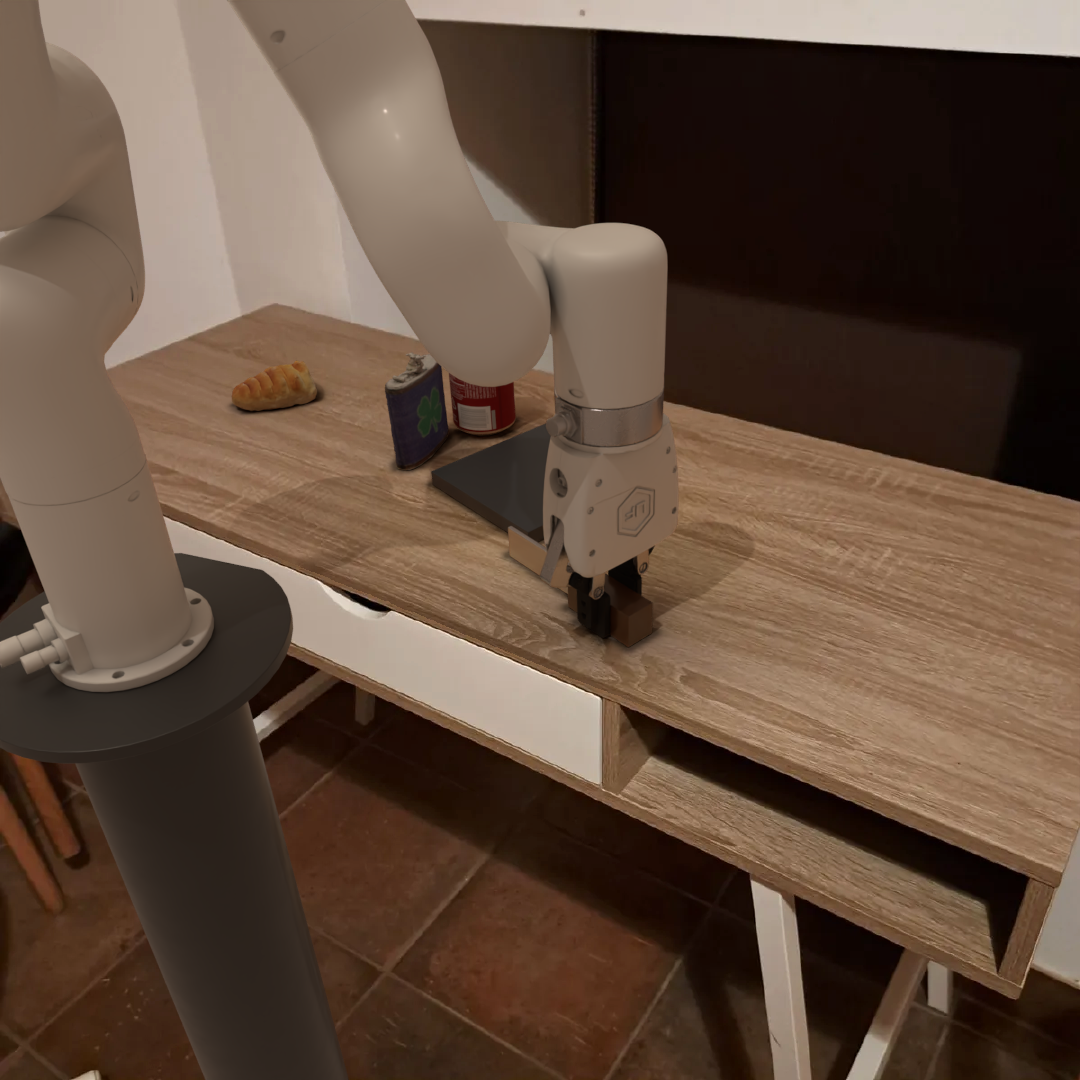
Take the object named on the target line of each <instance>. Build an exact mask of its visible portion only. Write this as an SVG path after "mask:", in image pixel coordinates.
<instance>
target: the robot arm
mask: <svg viewBox="0 0 1080 1080" xmlns="http://www.w3.org/2000/svg"><path fill="white" fill-rule="evenodd" d="M226 1H227V2H228V4H229V5H230V7H231V8H232V10H233V11H234V14H235V15H236V16H237V18H238V19H239V21H240V22H241V24H242V26H243V27H244V29H245V30H246V32H247V33H248V35H249V37H250V38H251V39H252V41H253V43H254V45H255V46H256V48H257V50H258V51H259V52H260V54H261V56H262V57H263V59H264V60H265V61H266V63H267V65H268V67H269V68H270V70H271V72H273V74H274V76H275V78H276V79H277V81H278V82H279V84H280V86H281V88H283V90H284V92H285V93H286V96H287V97H288V98H289V100H290V102H291V103H292V104H293V106H294V107H295V109H296V111H297V112H298V114H299V116H300V117H301V119H302V121H303V122H304V124H305V126H306V127H307V130H308V132H309V135H310V136H311V139H312V142H313V144H314V147H315V149H316V150H315V151H316V152H317V155H318V157H319V160H320V163H321V165H322V167H323V169H324V171H325V173H326V175H327V177H328V179H329V182H330V183H331V185H332V188H333V189H334V191H335V193H336V196H337V198H338V200H339V202H340V204H341V207H342V208H343V211H344V213H345V215H346V217H347V220H348V223H349V224H350V226H351V229H352V230H353V233H354V235H355V237H356V239H357V241H358V244H359V245H360V247H361V249H362V251H363V252H364V255H365V256H366V259H367V260H368V262H369V264H370V266H371V267H372V269H373V271H374V272H375V275H376V276H377V278H378V279H379V281H380V282H381V284H382V285H383V287H384V288H385V290H386V293H387V294H388V295H389V297H390V298H391V300H392V302H393V303H394V304H395V306H396V307H397V309H398V310H399V312H400V313H401V315H402V317H403V318H404V319H405V321H406V323H407V324H408V325H409V327H410V328H411V330H412V331H413V333H414V334H415V336H416V338H417V339H418V340H419V342H420V343H421V345H422V346H423V347H424V349H425V350H426V352H427V353H428V354H430V355H431V356H432V357H433V358H434V360H435V361H436V362H437V363H438V364H439V365H441V367H442V369H444V370H445V371H446V372H447V373H448V374H449V373H450V374H452V375H453V376H455V377H456V378H458V379H460V380H462V381H464V382H467V383H469V384H473V385H478V386H482V387H496V386H502V385H507V384H509V383H512V382H514V383H515V382H516V381H518V380H520V379H522V378H523V377H525V376H526V375H527V374H528V373H529V372H531V371H532V369H534V367H536V366H537V364H538V363H539V362H540V360H541V358H542V357H543V356H544V352H545V350H546V348H547V346H548V343H549V339H550V336H551V341H552V363H553V364H552V365H553V367H552V369H553V395H554V397H553V398H554V399H553V400H554V415H553V416H551V417H549V418H547V419H546V421H545V423H546V428H547V431H548V433H549V434H550V435H551V438H550V443H549V449H548V455H547V462H546V470H545V479H544V494H543V531H544V539H543V540H544V547H546V551H547V555H546V558H545V561H544V564H543V567H542V570H541V573H540V576H539V580H540V581H541V582H543V583H544V584H546V585H548V586H549V587H551V588H556V589H557V588H558V589H559V587H573V588H575V589H577V612H576V616H577V621H578V622H579V623H580V625H582V626H583V627H585V628H587V629H588V630H589V631H591V632H593V633H594V634H596V635H597V636H599V637H600V638H602V639H604V638H607V637H608V636H610V635H609V634H610V595H609V594H608V593H606V592H605V591H604V590H605V573H607V575H609V576H610V577H612V578H614V579H615V580H617V581H619V582H620V583H622V584H623V585H625V586H627V587H628V588H630V589H631V590H633V591H635V592H637V593H638V594H640V595H641V596H643V594H642V593H643V592H642V591H643V577H642V576H643V575H644V574H646V573H647V572H648V571H649V567H650V555H651V553H652V552H653V550H654V548H655V547H656V546H657V545H659V544H661V543H662V542H663V541H666V540H667V539H668V538H670V537H671V535H673V533H674V532H676V529H677V527H678V521H679V507H680V506H679V505H680V503H679V501H680V500H679V499H680V498H679V497H680V493H679V491H680V490H679V489H680V488H679V469H678V466H679V465H678V456H677V449H676V442H675V435H674V431H673V427H672V424H671V419H670V417H669V416H668V415H667V414H666V413H664V400H665V399H664V397H665V370H666V369H665V368H666V367H665V366H666V365H665V363H666V333H667V332H666V331H667V303H668V301H667V299H668V298H667V297H668V252H667V248H666V245H665V243H664V241H663V239H662V238H661V237H660V236H659V235H658V234H657V233H655V232H654V231H653V230H651V229H649V228H646V227H644V226H640V225H636V224H630V223H623V222H599V223H591V224H586V225H585V224H584V225H581V226H578V227H573V228H572V227H558V226H551V225H550V226H548V225H540V224H534V223H533V224H531V223H524V222H516V221H509V220H508V221H507V220H495V219H494V217H493V215H492V213H491V211H490V209H489V207H488V205H487V203H486V201H485V199H484V197H483V195H482V194H481V191H480V189H479V187H478V185H477V183H476V180H475V178H474V176H473V174H472V171H471V170H470V167H469V165H468V162H467V160H466V158H465V156H464V152H463V150H462V147H461V145H460V142H459V140H458V137H457V133H456V130H455V127H454V124H453V120H452V117H451V112H450V109H449V108H450V107H449V103H448V100H447V94H446V90H445V86H444V81H443V77H442V74H441V70H440V68H439V65H438V62H437V59H436V57H435V54H434V51H433V49H432V46H431V44H430V42H429V39H428V37H427V35H426V34H425V32H424V30H423V28H422V27H421V25H420V24H419V21H418V20H417V18H416V17H415V14H414V13H413V11H412V9H411V8H410V6H409V4H408V3H407V1H406V0H226ZM44 33H45V32H44V29H43V24H42V17H41V9H40V3H39V0H0V233H3V232H4V236H3V237H0V482H1V483H2V486H3V489H4V491H5V494H6V495H7V497H8V500H9V502H10V505H11V507H12V510H13V513H14V516H15V518H16V520H17V522H18V523H17V524H18V526H19V528H20V530H21V534H22V536H23V539H24V541H25V544H26V546H27V549H28V552H29V554H30V557H31V559H32V563H33V565H34V567H35V570H36V572H37V575H38V578H39V580H40V582H41V585H42V587H43V590H44V591H45V593H46V596H47V598H48V601H49V604H46V605H44V606H42V607H41V608H42V611H43V613H44V616H45V619H44V620H42V621H40V622H37V623H35V624H33V626H34V629H32V630H30V631H28V632H25V633H23V634H20V635H18V636H16V635H15V636H13V637H11V638H8V639H6V640H3V641H1V642H0V665H1V667H2V668H5V667H7V666H10V665H12V664H14V663H17V662H19V661H21V663H22V665H23V667H24V669H25V671H26V673H27V674H30V673H32V672H35V671H37V670H39V669H42V668H44V667H45V666H46V665H49V666H50V669H51V671H52V673H53V674H54V675H55V677H56V678H57V679H58V680H59V681H61V682H62V683H64V684H65V685H67V686H70V687H73V688H75V689H78V690H84V691H90V692H114V691H123V690H128V689H133V688H137V687H141V686H144V685H147V684H150V683H153V682H156V681H158V680H160V679H162V678H165V677H167V676H169V675H171V674H173V673H174V672H176V671H178V670H179V669H181V668H182V667H184V666H186V665H187V664H188V663H189V662H190V661H192V660H193V659H194V658H195V657H196V656H197V655H198V654H199V653H200V652H201V651H202V650H203V649H204V648H205V646H206V645H207V643H208V641H209V640H210V638H211V636H212V633H213V629H214V618H213V614H212V610H211V607H210V605H209V604H208V602H207V600H206V599H205V598H204V597H203V596H201V595H200V594H199V593H197V592H195V591H193V590H191V589H188V588H185V587H184V586H183V582H182V579H181V575H180V572H179V569H178V565H177V562H176V558H175V555H174V553H175V551H174V548H173V545H172V542H171V537H170V534H169V531H168V528H167V524H166V520H165V517H164V513H163V510H162V506H161V503H160V500H159V496H158V493H157V490H156V489H157V488H156V486H155V483H154V479H153V476H152V472H151V467H150V465H149V462H148V461H149V460H148V458H147V454H146V453H145V449H144V446H143V443H142V440H141V436H140V432H139V429H138V427H137V425H136V422H135V419H134V417H133V414H132V412H131V410H130V409H129V407H128V404H127V403H126V401H125V399H124V398H123V397H122V395H121V394H120V392H119V391H118V389H117V388H116V387H115V384H114V383H113V381H112V379H111V377H110V375H109V373H108V370H107V366H106V363H105V359H106V358H105V356H106V354H107V352H109V351H110V349H111V347H112V346H113V345H114V343H115V342H116V341H117V340H118V338H120V336H122V334H124V332H125V330H126V329H127V328H129V326H130V324H131V323H132V322H133V320H134V319H135V317H136V316H137V314H138V312H139V310H140V308H141V306H142V303H143V300H144V297H145V291H146V267H145V258H144V257H145V256H144V250H143V242H142V237H141V230H140V223H139V216H138V211H137V204H136V198H135V197H136V196H135V190H134V184H133V177H132V171H131V165H130V164H131V163H130V157H129V152H128V146H127V140H126V135H125V130H124V126H123V123H122V119H121V116H120V114H119V111H118V109H117V107H116V106H117V105H116V103H115V102H114V100H113V97H112V95H111V94H110V92H109V90H108V89H107V87H106V85H105V84H104V83H103V82H102V80H101V79H100V78H99V75H97V74H96V73H95V72H94V71H93V69H91V67H89V66H88V65H87V64H86V63H85V62H84V61H83V60H81V59H80V58H79V57H78V56H77V55H75V54H73V53H72V52H70V51H69V50H67V49H65V48H63V47H61V46H59V45H56V44H53V43H50V42H47V41H46V39H45V34H44ZM568 562H569V565H568ZM44 591H43V592H44Z"/></svg>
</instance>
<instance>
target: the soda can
mask: <svg viewBox="0 0 1080 1080" xmlns="http://www.w3.org/2000/svg"><path fill="white" fill-rule="evenodd" d="M448 380H449V392H450V401H451V411H452V422H453V425H454V427H455V428H456V429H457V430H459V431H462V432H464V433H467V434H469V435H473V436H479V437H481V436H482V437H484V436H493V435H496V434H499V433H502V432H503V431H505V430H507V429H509V428H511V427H512V425H514V424H515V422H516V419H517V416H516V415H517V414H516V399H515V381H514V382H512V383H509V384H507V385H502V386H496V387H482V386H478V385H473V384H469V383H467V382H464V381H462V380H460V379H458V378H456V377H455V376H453V375H452V374H450V373H448Z"/></svg>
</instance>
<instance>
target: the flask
mask: <svg viewBox="0 0 1080 1080" xmlns="http://www.w3.org/2000/svg"><path fill="white" fill-rule="evenodd" d="M405 356H407V357H409V362H407V365H406V366H405V371H403V372H401V373H400V374H398V375H392V378H391V379H389V380H388V381H387V382H385V384H384V393H385V398H386V406H387V412H388V418H389V423H390V431H391V432H390V433H391V437H392V443H393V449H394V454H395V456H394V457H395V465H396V469H397V470H401V471H411V470H413V469H417V468H418V467H421V466H422V465H423V464H424V463H425V462H427V461H429V459H431V458H432V457H433V456H434V455H435V454H436V453H437V451H438V450H439V449H440V448H441V447H442V445H443V444H444V443H445V442H446V441H447V440H448V437H449V424H448V413H447V407H446V397H445V389H444V379H443V367H442V366H441V365H439V364H438V363H437V362H436V361H435V360H434V358H433V357H432V356H431V355H430V354H429V353H428V354H422V355H421V354H418V353H417V354H416V353H414V352H412V351H411V352H409V353H406V354H405Z"/></svg>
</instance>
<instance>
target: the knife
mask: <svg viewBox="0 0 1080 1080" xmlns="http://www.w3.org/2000/svg"><path fill="white" fill-rule="evenodd" d="M507 534H508V535H507V536H508V537H507V538H508V550H509V551H508V553H509V557H511V558H512V559H514V560H515V561H516V562H518V563H519V564H521V565H523V566H524V567H526V568H527V569H529V570H530V571H532V572H533V573H535V574H536V575H538V576H539V577H540V573H541V570H542V567H543V564H544V561H545V558H546V555H547V551H546V547H545V545H543V544H541V543H539V541H538V542H536V541H535V540H533V539H531V538H530V537H528V536H527V535H525V534H523V533H522V532H520V531H519V530H517V529H516V528H514V527H512V526H510V527H508V532H507ZM568 565H569V562H568ZM558 589H559V590H560V591H562V592H563V593H565V594H567V607H568V608H569V609H570V610H572V611H573V612H575V613H577V589H575V588H573V587H559V588H558ZM604 591H605V592H606V593H608V594H609V595H610V634H609V635H608V636H611V637H612V638H613V639H615V640H617V641H618V642H620V643H621V644H623V645H624V646H626V647H627V648H631V646H633V645H635V644H636V643H638V642H640V641H641V640H643V639H645V638H646V637H648V636H649V635H651V634H652V633H653V612H654V603H653V601H651V600H649V598H647V597H645V596H643V595H642V596H641V595H640V594H638V593H637V592H635V591H633V590H631V589H630V588H628V587H627V586H625V585H623V584H622V583H620V582H619V581H617V580H615V579H614V578H612V577H610V576H609V575H608V573H607V572H605V590H604Z"/></svg>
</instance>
